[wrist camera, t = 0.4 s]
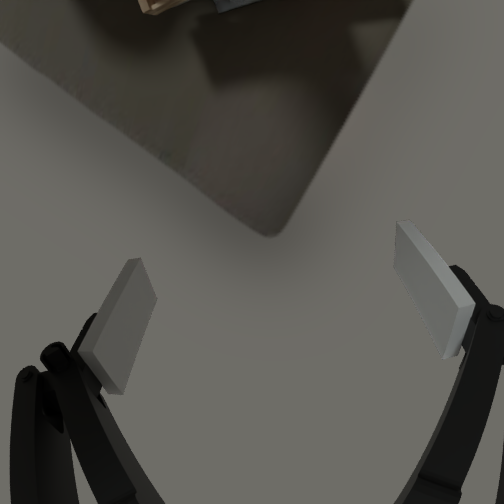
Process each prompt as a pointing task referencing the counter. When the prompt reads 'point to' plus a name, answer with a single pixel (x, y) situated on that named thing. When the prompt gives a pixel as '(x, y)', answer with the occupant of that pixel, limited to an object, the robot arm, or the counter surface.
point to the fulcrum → (232, 4)
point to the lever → (158, 5)
